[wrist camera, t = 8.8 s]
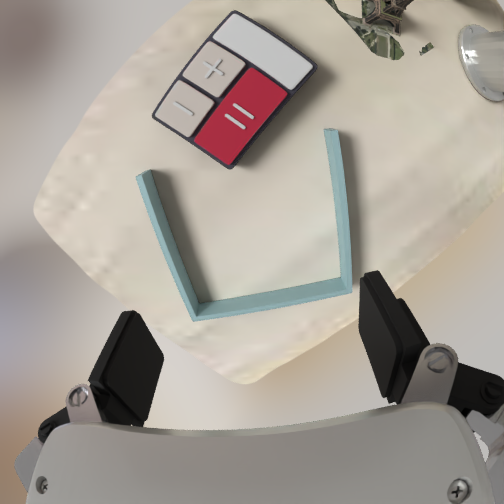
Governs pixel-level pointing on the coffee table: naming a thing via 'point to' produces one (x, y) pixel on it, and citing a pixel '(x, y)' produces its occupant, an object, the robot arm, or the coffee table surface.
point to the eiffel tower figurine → (380, 26)
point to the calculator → (233, 88)
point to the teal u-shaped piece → (268, 298)
